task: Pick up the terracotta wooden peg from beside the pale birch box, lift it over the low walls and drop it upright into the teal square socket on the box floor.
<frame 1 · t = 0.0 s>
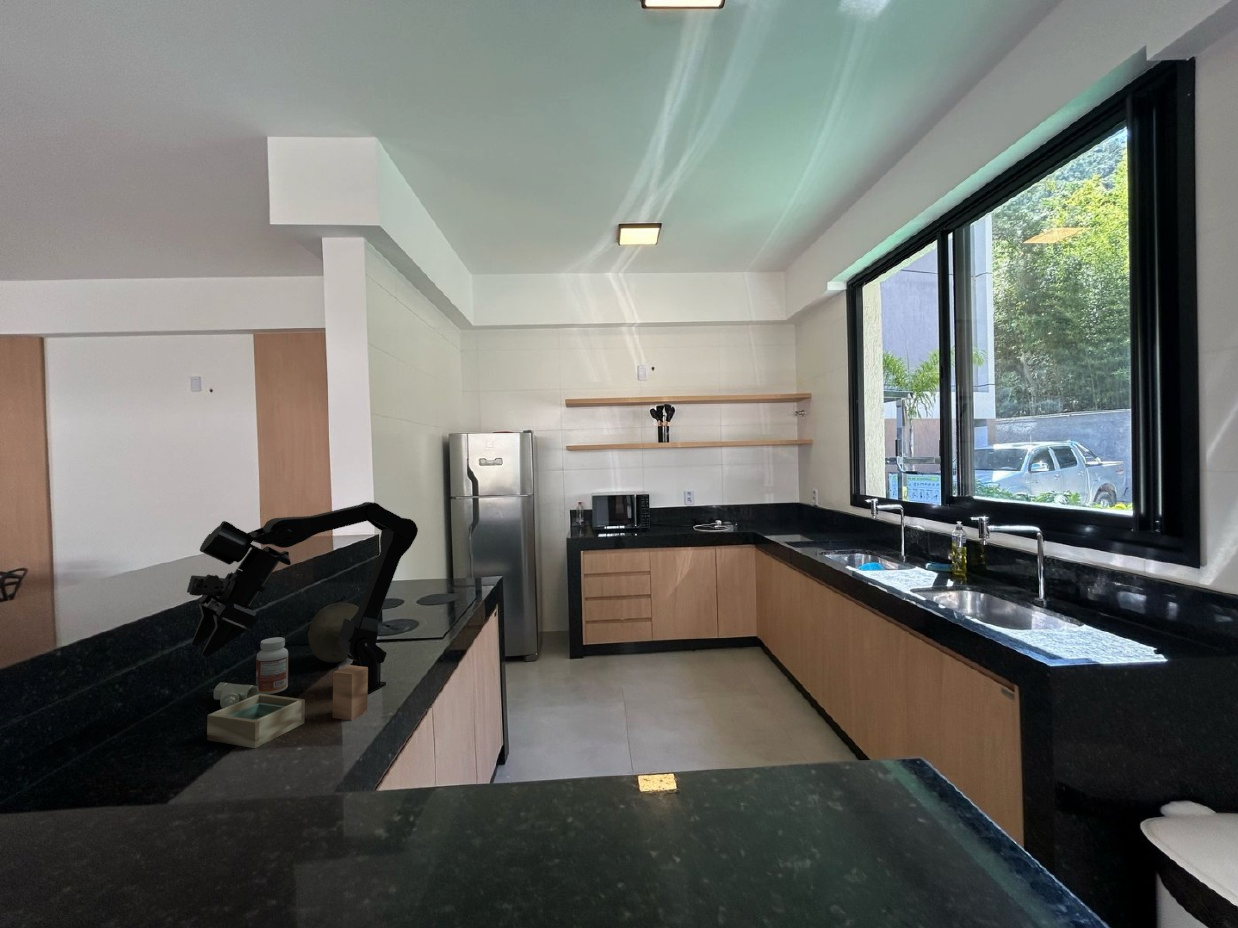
hand: (198, 650, 111), 15 cm above the countertop, tool tilted 35°, fingers open, 9 cm apart
pipe fitting: (229, 705, 124), on the countertop
socket box: (257, 731, 111), on the countertop
pill bottle: (272, 690, 132), on the countertop
peg: (350, 714, 119), on the countertop
cantaloupe: (338, 663, 151), on the countertop
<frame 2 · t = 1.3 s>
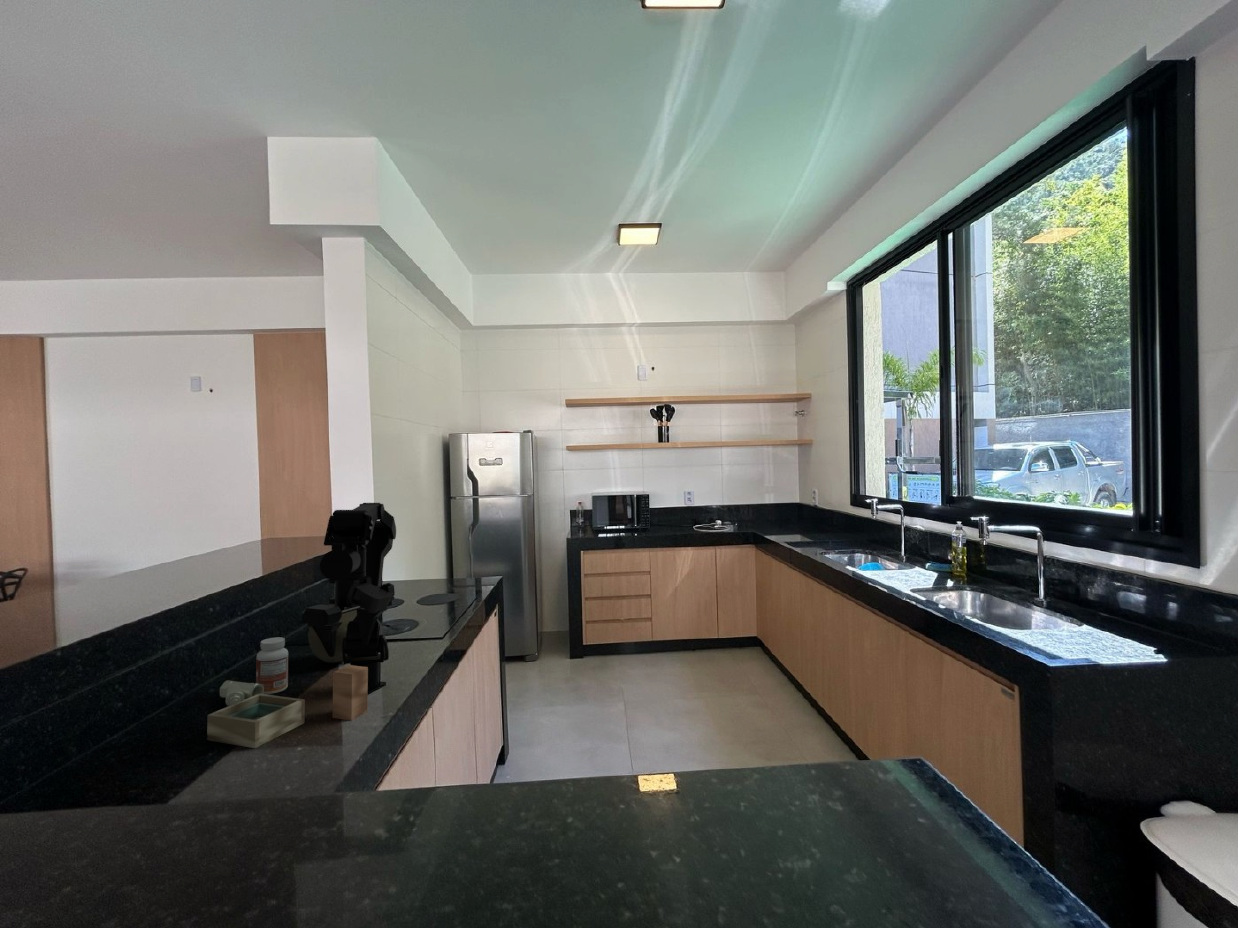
hand: (349, 649, 119), 13 cm above the countertop, tool pointing down, fingers open, 9 cm apart
pipe fitting: (235, 703, 125), on the countertop
everything else where it was.
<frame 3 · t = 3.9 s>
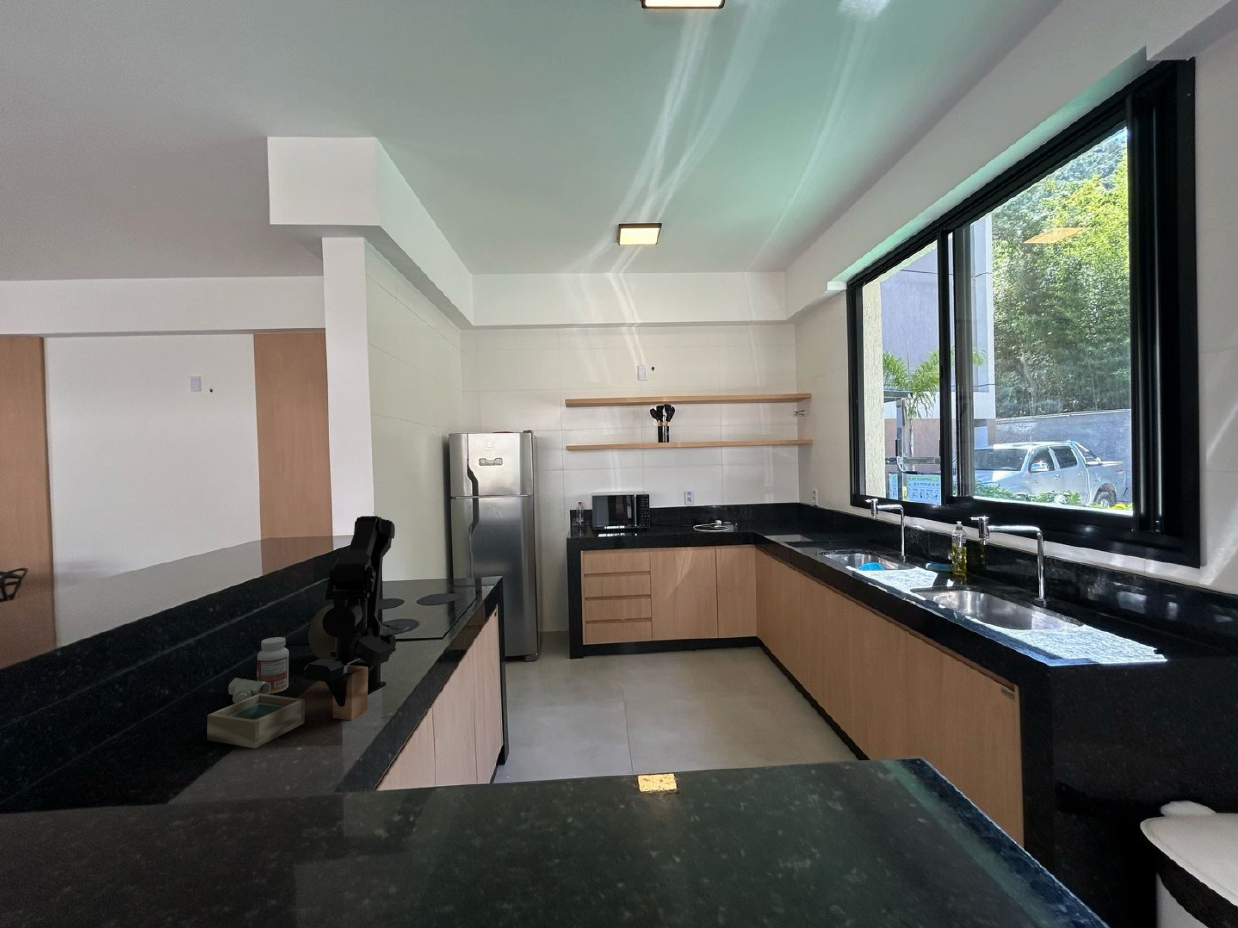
hand: (350, 701, 119), 3 cm above the countertop, tool pointing down, fingers closed on peg, 4 cm apart
pipe fitting: (242, 701, 126), on the countertop
peg: (350, 714, 119), on the countertop, touching gripper
everything else where it was.
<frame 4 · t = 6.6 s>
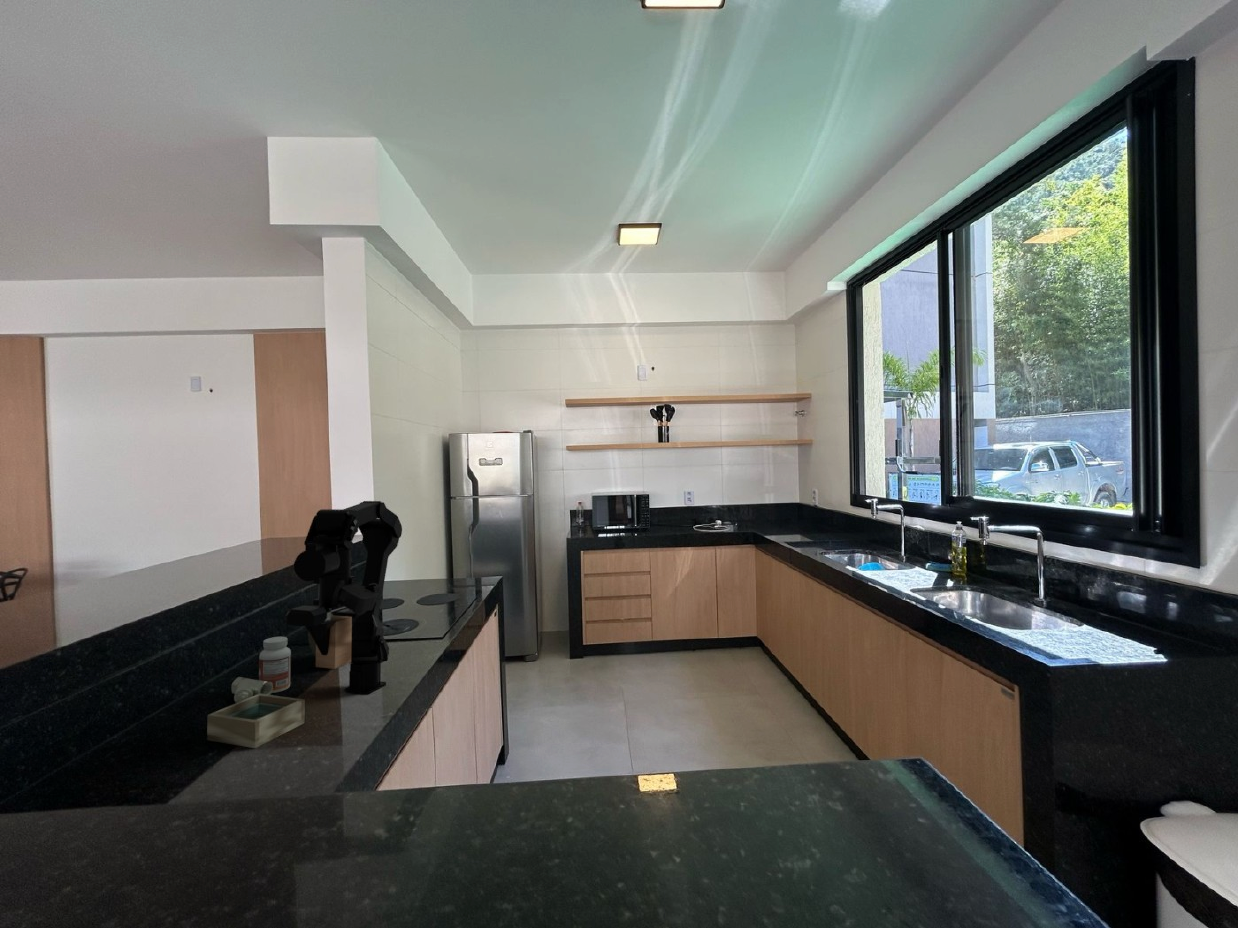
hand: (333, 651, 117), 13 cm above the countertop, tool pointing down, fingers closed on peg, 4 cm apart
pipe fitting: (244, 700, 127), on the countertop, touching pill bottle
pill bottle: (274, 689, 132), on the countertop, touching pipe fitting
peg: (333, 664, 117), point 11 cm above the countertop, touching gripper
everything else where it was.
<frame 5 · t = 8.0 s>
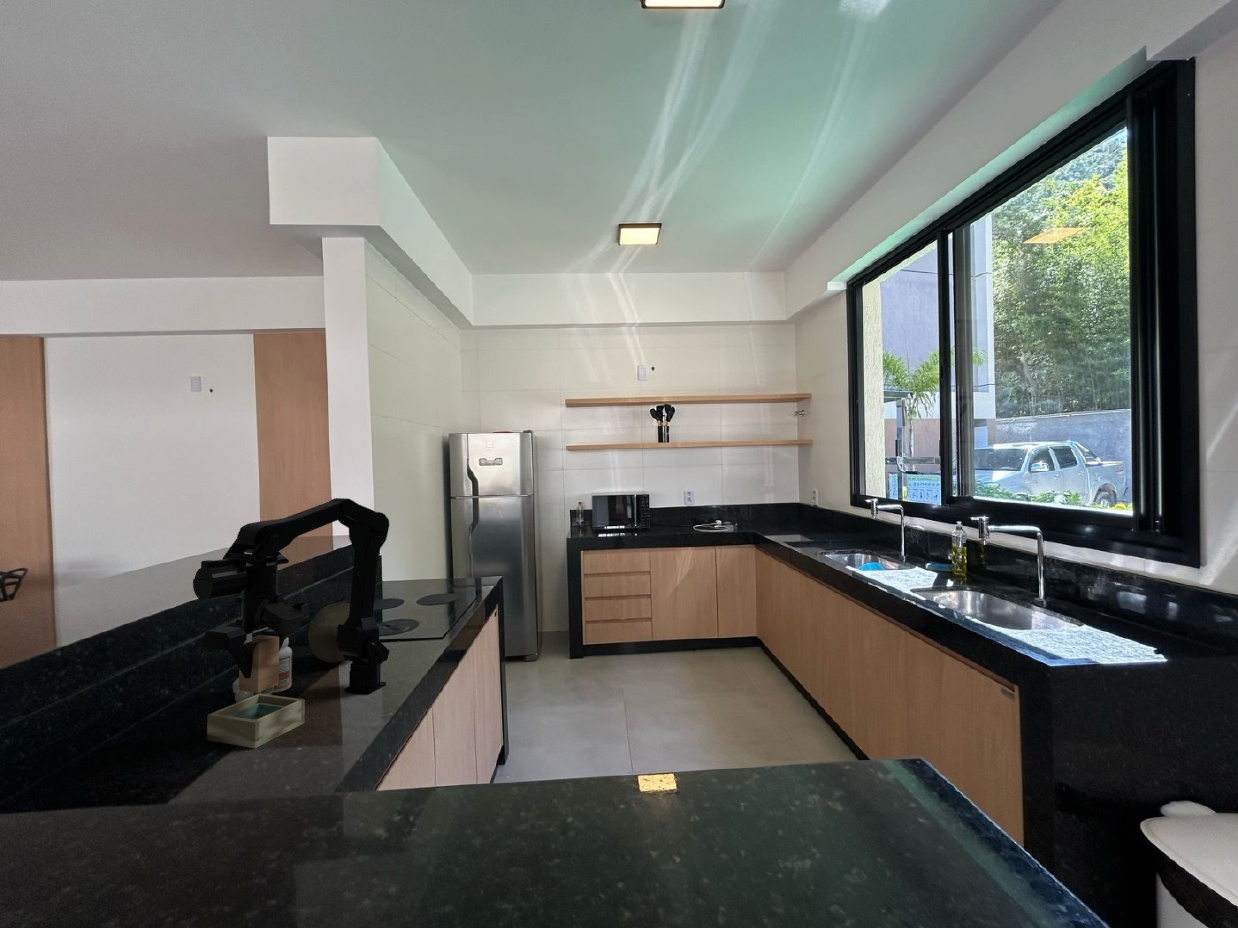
hand: (258, 673, 111), 11 cm above the countertop, tool pointing down, fingers closed on peg, 4 cm apart
pipe fitting: (246, 699, 127), on the countertop
pill bottle: (275, 689, 133), on the countertop
peg: (259, 687, 111), point 8 cm above the countertop, touching gripper
everything else where it was.
when the fingers open (7 cm above the countertop, at t = 9.3 s): peg drops 4 cm, resting on socket box.
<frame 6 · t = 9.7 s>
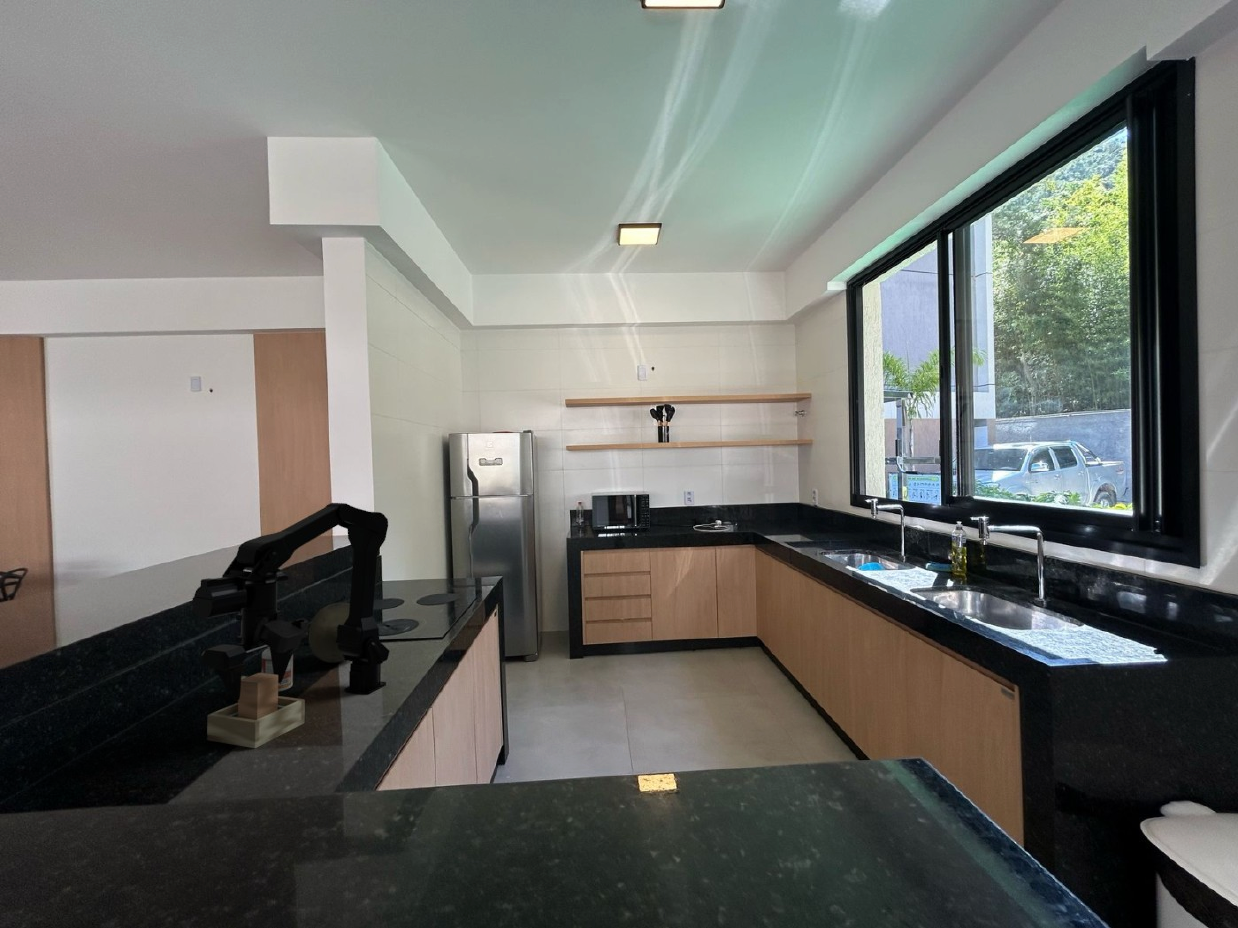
hand: (258, 690, 111), 7 cm above the countertop, tool pointing down, fingers open, 9 cm apart
peg: (257, 725, 111), point 1 cm above the countertop, touching socket box
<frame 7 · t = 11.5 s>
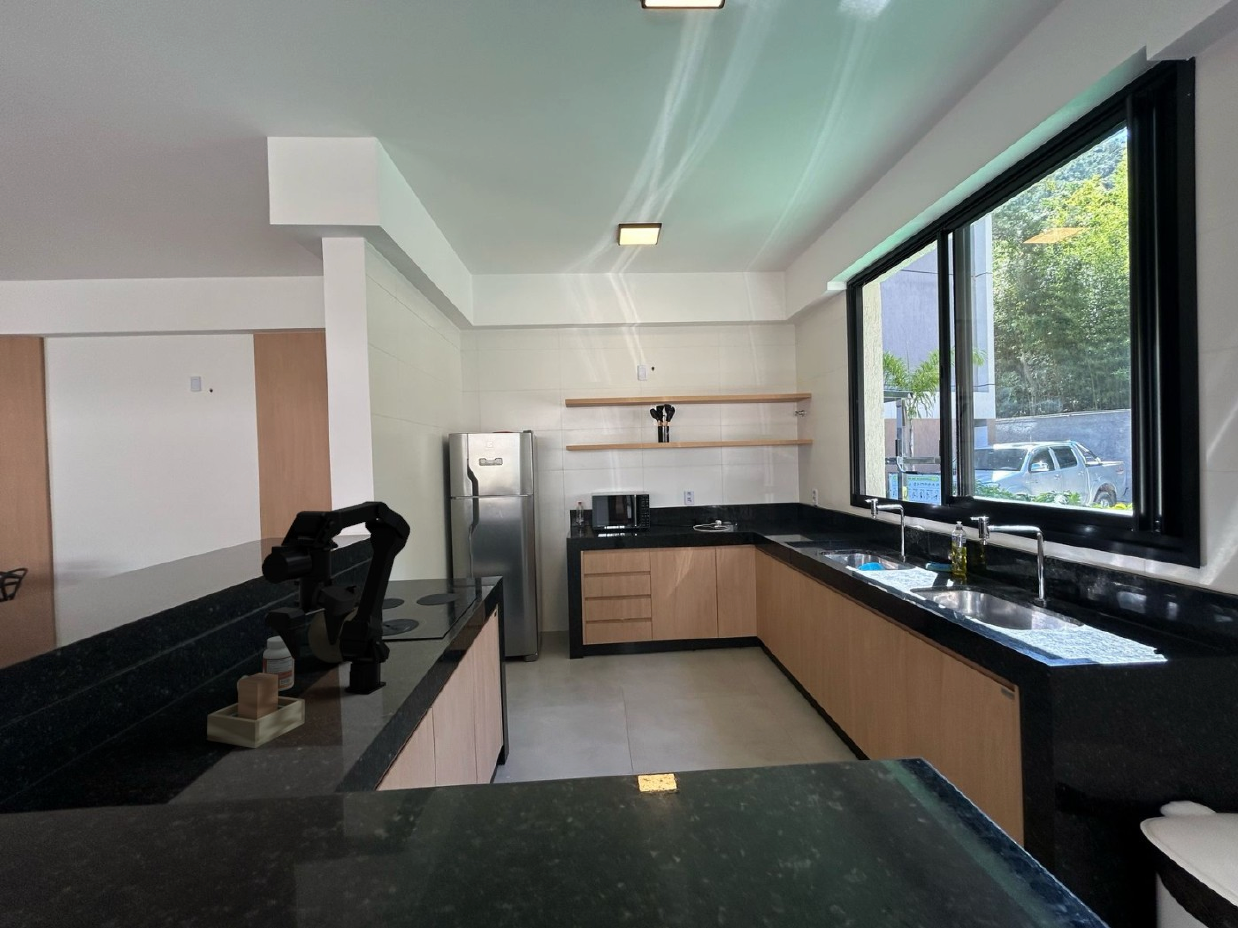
hand: (315, 651, 118), 13 cm above the countertop, tool pointing down, fingers open, 9 cm apart
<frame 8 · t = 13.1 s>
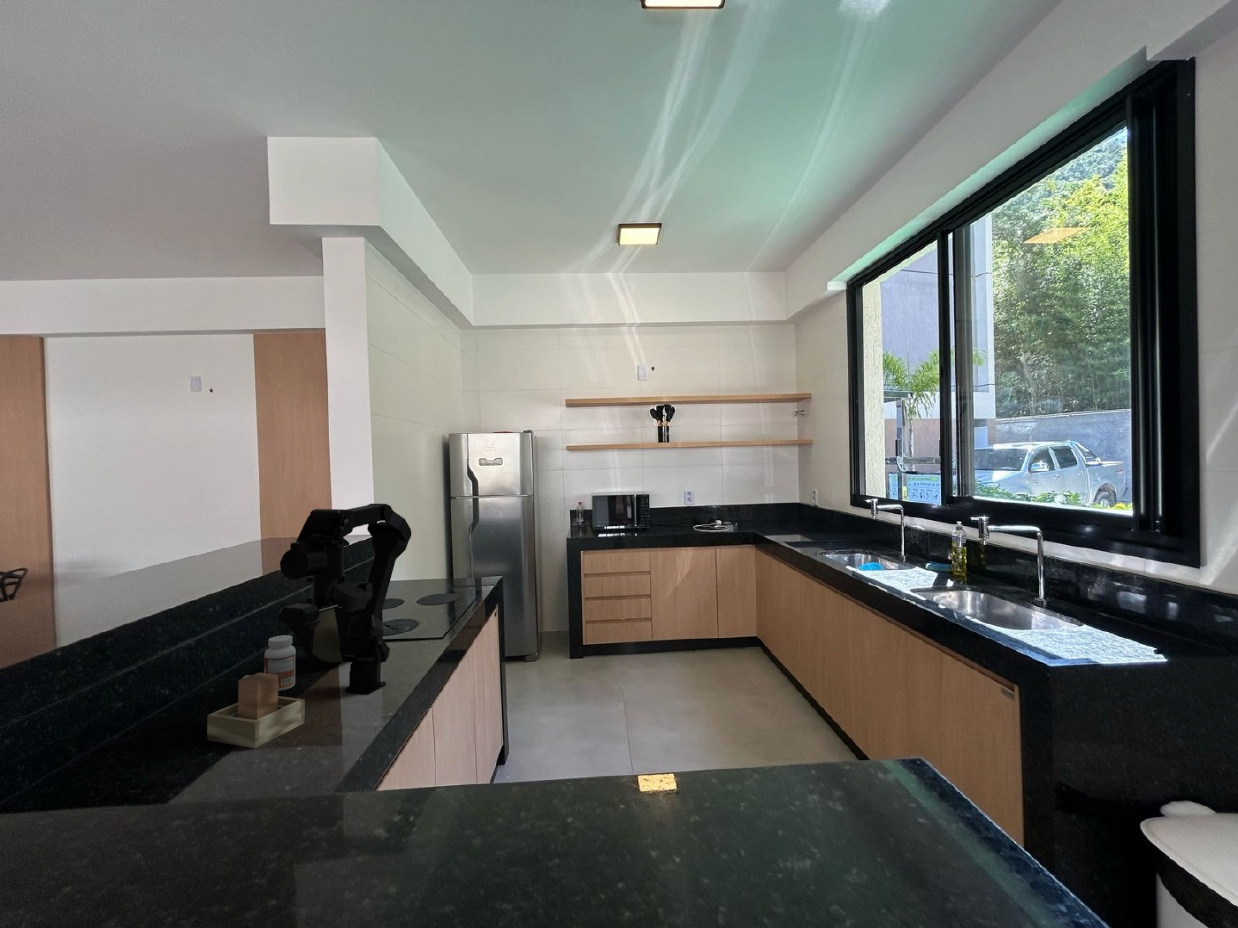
hand: (326, 648, 119), 13 cm above the countertop, tool pointing down, fingers open, 9 cm apart
at the end: peg 0.1 cm off-centre on the socket box, point 1.0 cm above the socket box's base; peg tilted 0°; the gripper is holding nothing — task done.
